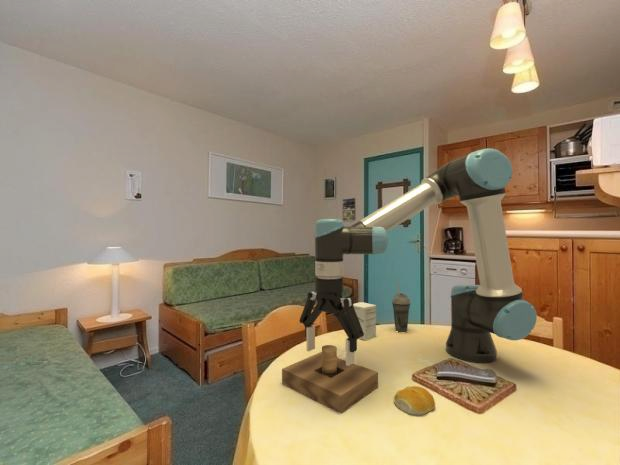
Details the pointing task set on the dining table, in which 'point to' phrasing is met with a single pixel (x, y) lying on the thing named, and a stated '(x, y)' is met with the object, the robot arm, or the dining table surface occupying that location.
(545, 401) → the dining table surface
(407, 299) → the beverage cup
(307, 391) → the board
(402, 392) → the bread roll
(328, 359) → the dowel
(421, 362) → the dining table surface
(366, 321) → the supplement box
